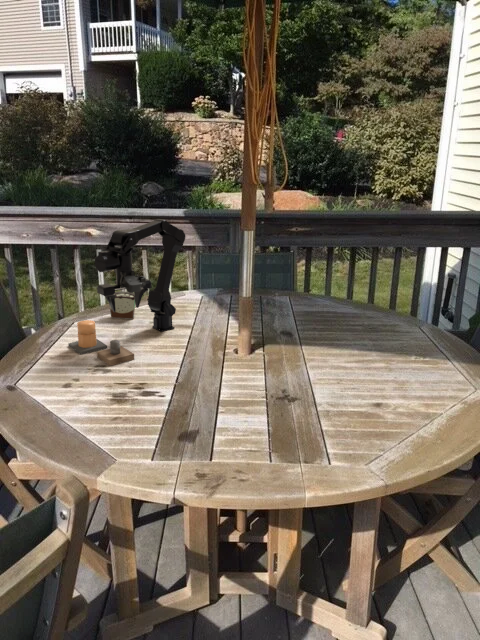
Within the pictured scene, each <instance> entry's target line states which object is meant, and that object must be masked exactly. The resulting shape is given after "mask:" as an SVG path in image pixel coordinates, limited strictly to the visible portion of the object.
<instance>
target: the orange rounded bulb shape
mask: <svg viewBox="0 0 480 640" xmlns="http://www.w3.org/2000/svg"><path fill="white" fill-rule="evenodd" d="M76 325H77V341H78V343H79V346H80V347H83V348H88V347H93V346H96V344H97V341H96V339H97V331H96V330H97V329H96V322H95V321H94V320H90V319H88V320H87V319H86V320H80V321H78V322H77V324H76Z"/></svg>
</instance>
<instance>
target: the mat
mask: <svg viewBox="0 0 480 640" xmlns="http://www.w3.org/2000/svg"><path fill="white" fill-rule="evenodd" d="M96 341H97V344H96V346H93V347H88V348H83V347H80V346H79V343H78V340H76V341H72V342H68V344H67V345H68V347H69V348H70V349H72V350H74V351H75V352H76V353H77V354H79V355H85V354H89V353H93V352H98V351H102V350H106V349H108V345H107V344H106V343H104V342H103V341H101V340H99V339H98V338H96ZM101 349H102V350H101Z"/></svg>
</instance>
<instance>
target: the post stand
mask: <svg viewBox="0 0 480 640" xmlns="http://www.w3.org/2000/svg"><path fill="white" fill-rule="evenodd" d="M96 355H97V358H98V359H99V360H101V361H102V362H103V363H105V364H107V365H108V366H114V365H118V364H122V363H125V362H129V361H134V360H135V353H134V352H132V351H130V350H129V349H127V348H126V347H124V346H123V345H121V341H120V340H119V339H113V340H110V341H109V348H106V349H102V350H98V351H96Z"/></svg>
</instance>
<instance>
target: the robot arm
mask: <svg viewBox="0 0 480 640" xmlns="http://www.w3.org/2000/svg"><path fill="white" fill-rule="evenodd" d="M156 234H158V235H159V236H161V237H162V239H161V244H162V246H163V254H162V259H161V262H160V268H159V273H158V277H157V280H156V281H157V282H156V286H155V287H154V289H153V290H152V281H151V280H150V279H147V278H146V277H145V275H141V276H136V273H135V270H134V269H133V257H132V255H133V254H136V253H137V250H135V248H133V247H135V246H137V245H138V243H139V241H141V240H144V239H146V238H148V237H151V236H154V235H156ZM185 241H186V234H185V231H184V230H183V229H182V228H181V229H180V228H179V227H177V226H175V225H173V224H171V223H170V222H169V221H167V220H166V219H160V218H156V219H154V220H152V221H149V222H147V223H144V224H141V225H138V226H136V227H134V228H131V229H129V228H125V229H117V230H115V231H113V232H112V234H111V238H110V239H109V242H108V244H107V246H106V247H105V251H104V250H103V251H98V252H97V255H96V256H95V259H94V267H95V268H96V270H97V271H98V272H100V273H104V272H110V271H113V272H114V273H115V279H116V280H114V284H115V285H112V284H110V283H104V284H102V283H101V284H98V286H97V287H96V291H97V293H98V294H99V295H102V296H103V297H105V299H106V300H107V302H108V305H109V304H110V306H111V308H112V310H113V312H115V311H116V307H115V297H116V295H114V293H115V292H118V291H123V290H126V292H129V293H134V295H135V308H136V309H137V308H139V307H140V305H141V301H142V298H143V296H144V294H145V293H146V292H148V296H147V299H146V301H147V305H148V307H149V309H150V312H151V313H153V314H154V315H153V317H152V318H153V319H152V320H153V321H152V322H153V324H152V327H151V328H153V329H155V330H157V331H158V332H165V331H169V330H173V329H175V326H173V315H175V314H176V312H177V309H176V307H175V306H174V305H173V304H172V303H171V302H172V296H171V291H170V286H171V282H172V278H173V277H172V276H173V272H174V268H175V263H176V260H177V259H176V258H177V255H178V252H180V250H181V249H182V248H183V246H184V243H185ZM149 289H151V290H149Z"/></svg>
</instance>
